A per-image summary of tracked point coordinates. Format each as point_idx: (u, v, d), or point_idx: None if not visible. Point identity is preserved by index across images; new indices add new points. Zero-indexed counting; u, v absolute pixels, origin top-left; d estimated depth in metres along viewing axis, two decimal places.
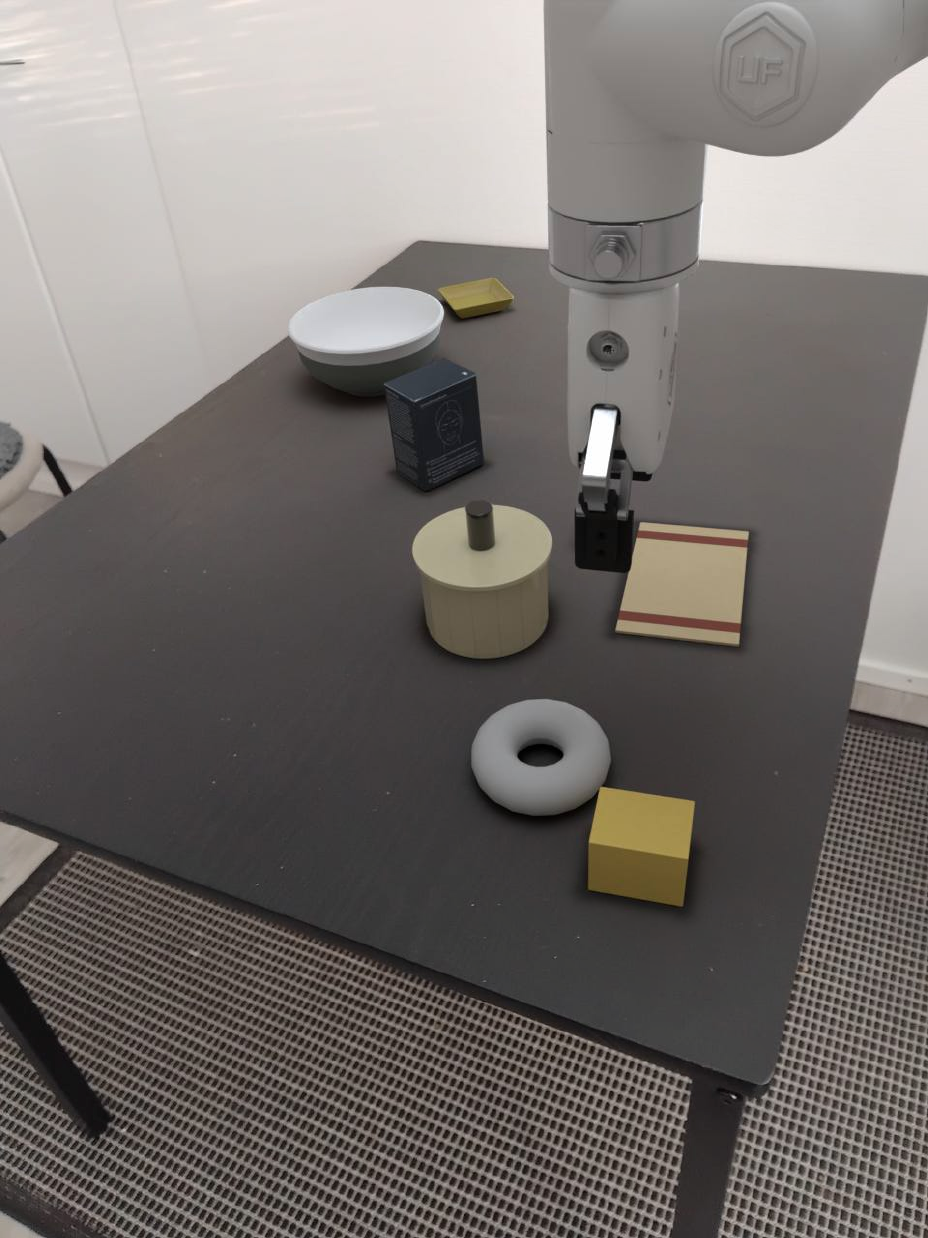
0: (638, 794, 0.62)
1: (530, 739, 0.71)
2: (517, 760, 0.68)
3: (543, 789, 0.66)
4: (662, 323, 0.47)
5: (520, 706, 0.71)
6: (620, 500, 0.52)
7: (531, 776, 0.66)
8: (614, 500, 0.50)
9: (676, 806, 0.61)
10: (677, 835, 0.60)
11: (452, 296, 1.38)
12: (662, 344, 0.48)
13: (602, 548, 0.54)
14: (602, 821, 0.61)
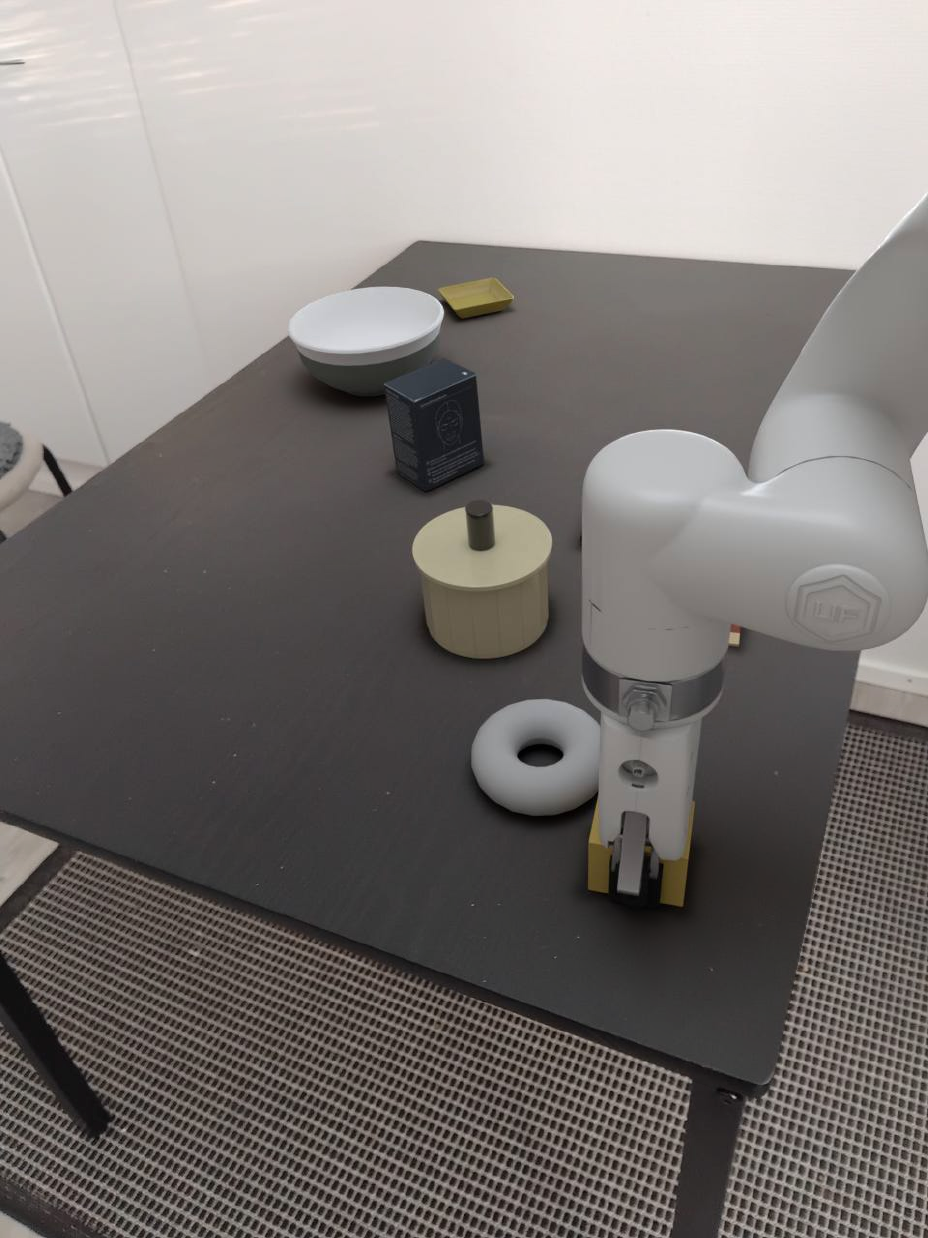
0: None
1: (530, 739, 0.71)
2: (517, 760, 0.68)
3: (543, 789, 0.66)
4: (690, 752, 0.50)
5: (520, 707, 0.71)
6: (651, 869, 0.57)
7: (531, 776, 0.66)
8: (647, 875, 0.56)
9: None
10: None
11: (452, 296, 1.38)
12: (689, 768, 0.51)
13: None
14: None
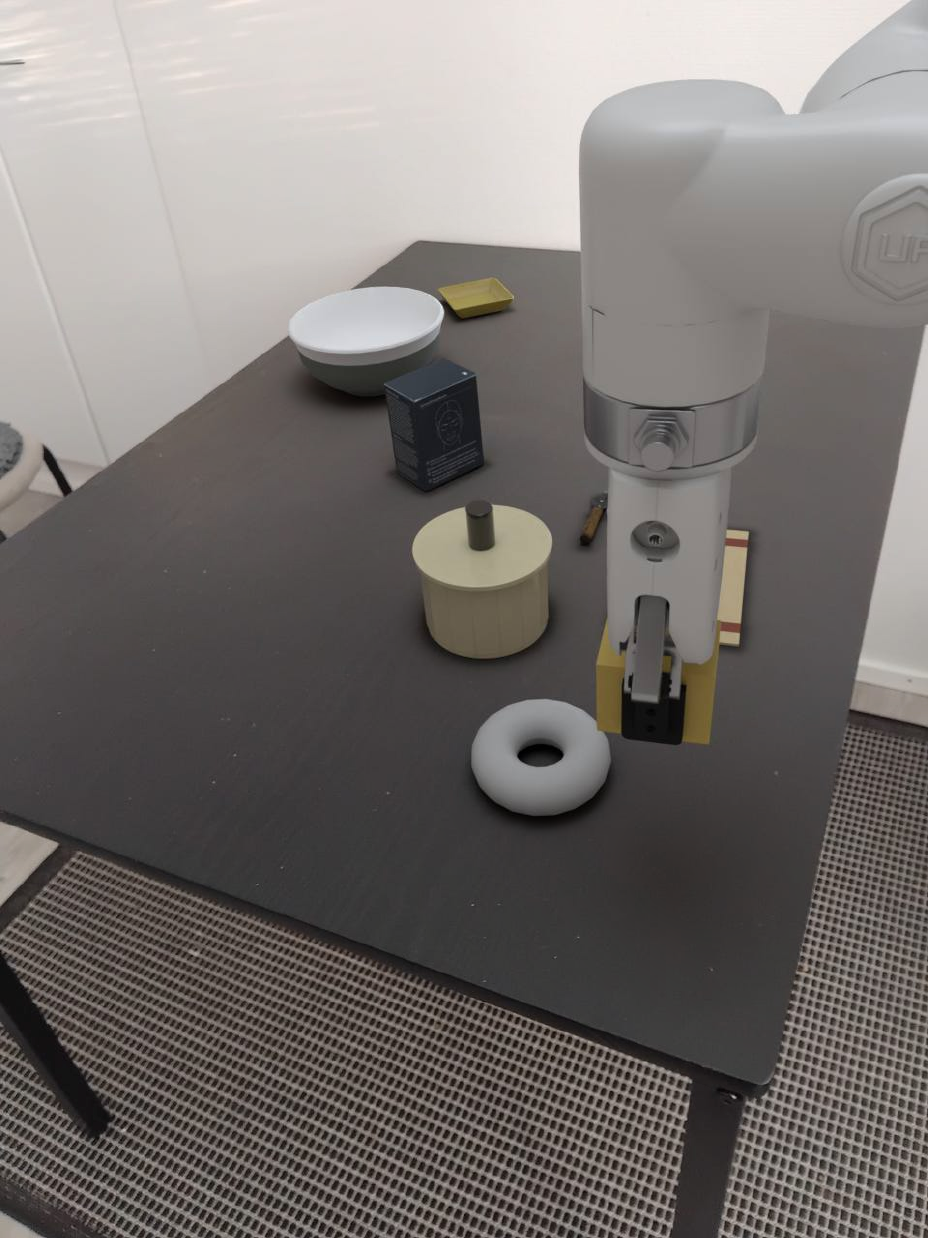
0: None
1: (530, 739, 0.71)
2: (517, 760, 0.68)
3: (543, 789, 0.66)
4: (718, 510, 0.41)
5: (520, 707, 0.71)
6: (672, 686, 0.48)
7: (531, 776, 0.66)
8: (667, 686, 0.46)
9: None
10: None
11: (452, 296, 1.38)
12: (718, 533, 0.42)
13: (652, 724, 0.50)
14: None
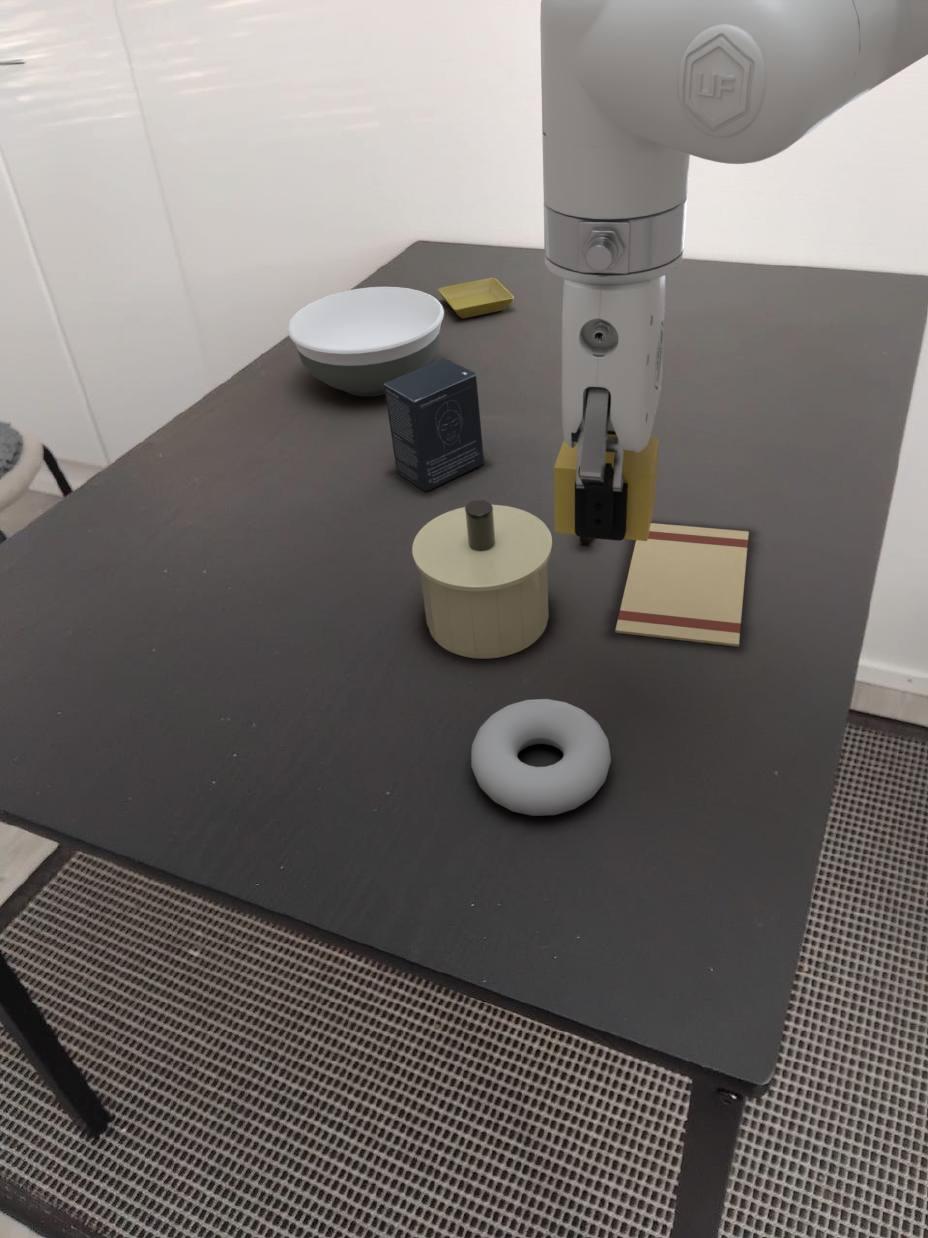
0: None
1: (530, 739, 0.71)
2: (517, 760, 0.68)
3: (543, 789, 0.66)
4: (649, 312, 0.51)
5: (520, 707, 0.71)
6: (615, 478, 0.58)
7: (531, 776, 0.66)
8: (610, 473, 0.57)
9: None
10: (641, 459, 0.61)
11: (452, 296, 1.38)
12: (649, 332, 0.52)
13: (599, 517, 0.61)
14: (568, 453, 0.62)
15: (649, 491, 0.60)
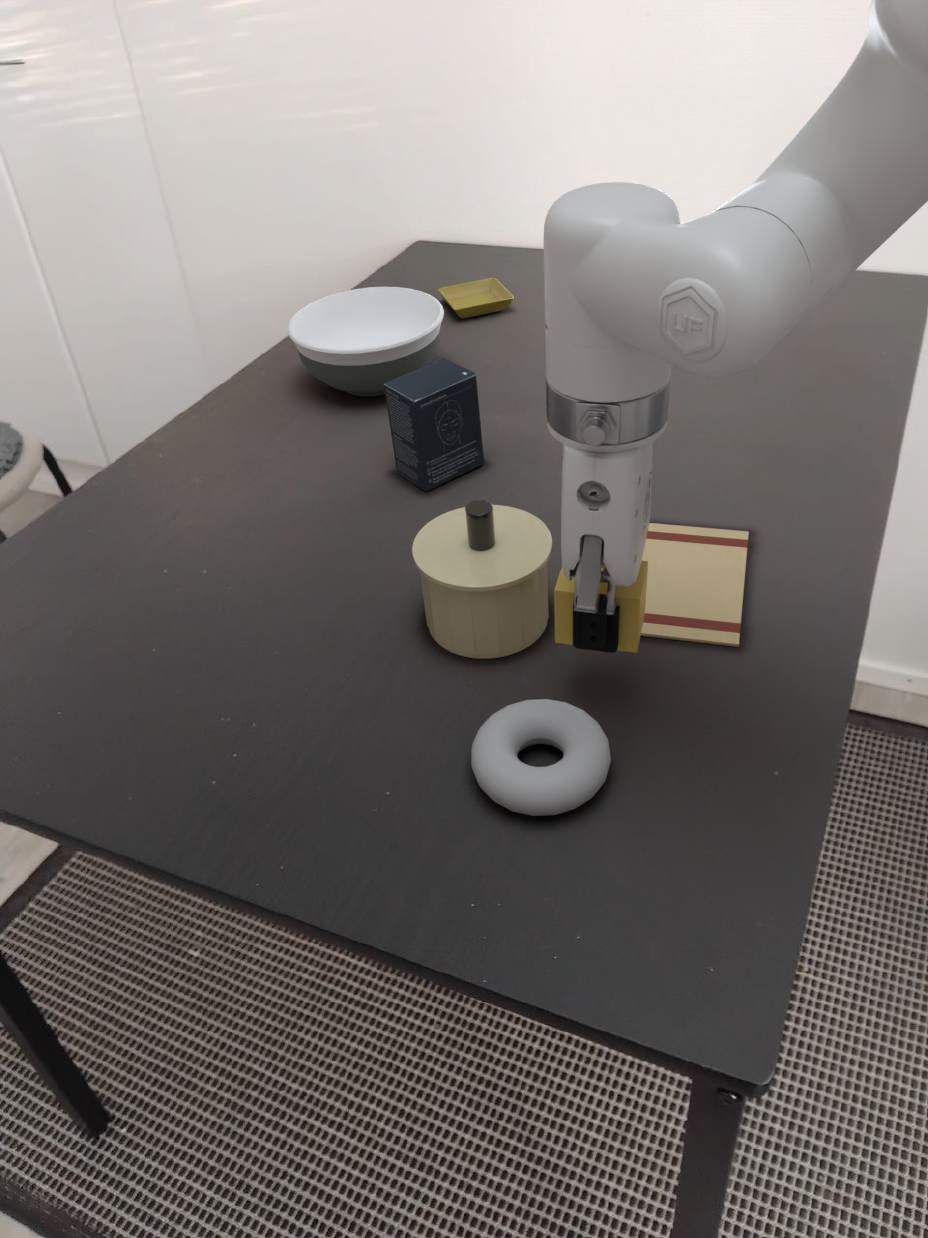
0: None
1: (530, 739, 0.71)
2: (517, 760, 0.68)
3: (543, 789, 0.66)
4: (637, 475, 0.59)
5: (520, 707, 0.71)
6: (608, 604, 0.66)
7: (531, 776, 0.66)
8: (604, 603, 0.64)
9: None
10: None
11: (452, 296, 1.38)
12: (637, 491, 0.60)
13: (595, 634, 0.69)
14: None
15: (638, 612, 0.68)
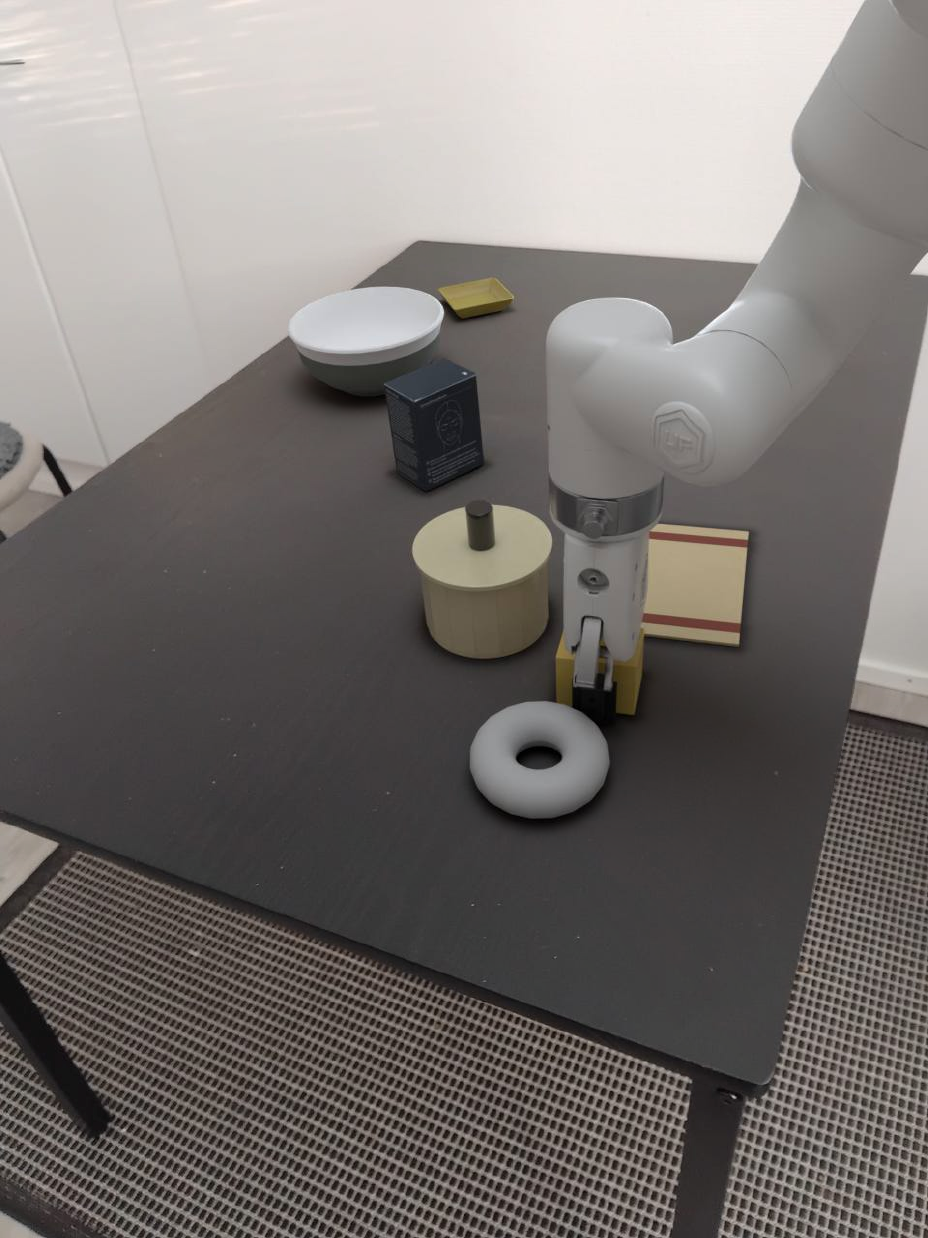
0: None
1: (528, 741, 0.71)
2: (515, 762, 0.68)
3: (540, 792, 0.65)
4: (634, 562, 0.63)
5: (519, 709, 0.71)
6: (606, 680, 0.69)
7: (529, 779, 0.66)
8: (601, 682, 0.68)
9: None
10: None
11: (452, 296, 1.38)
12: (634, 576, 0.64)
13: (593, 708, 0.72)
14: None
15: (635, 679, 0.72)
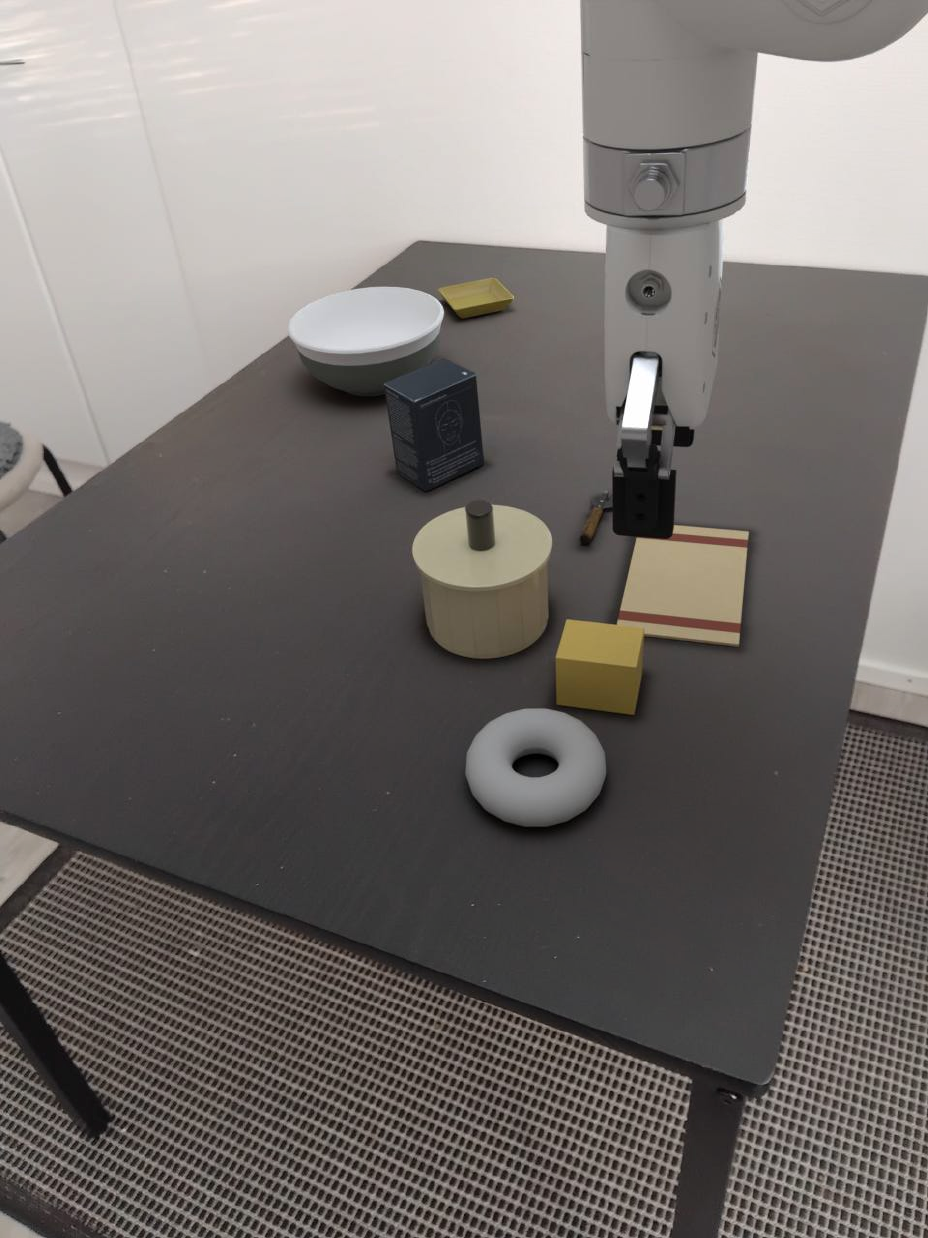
0: (597, 623, 0.75)
1: (525, 748, 0.70)
2: (511, 770, 0.67)
3: (534, 800, 0.65)
4: (708, 261, 0.44)
5: (517, 715, 0.71)
6: (662, 458, 0.48)
7: (523, 787, 0.66)
8: (655, 456, 0.47)
9: (628, 631, 0.74)
10: (628, 651, 0.72)
11: (452, 296, 1.38)
12: (707, 284, 0.44)
13: (642, 511, 0.51)
14: (567, 643, 0.74)
15: (635, 679, 0.72)
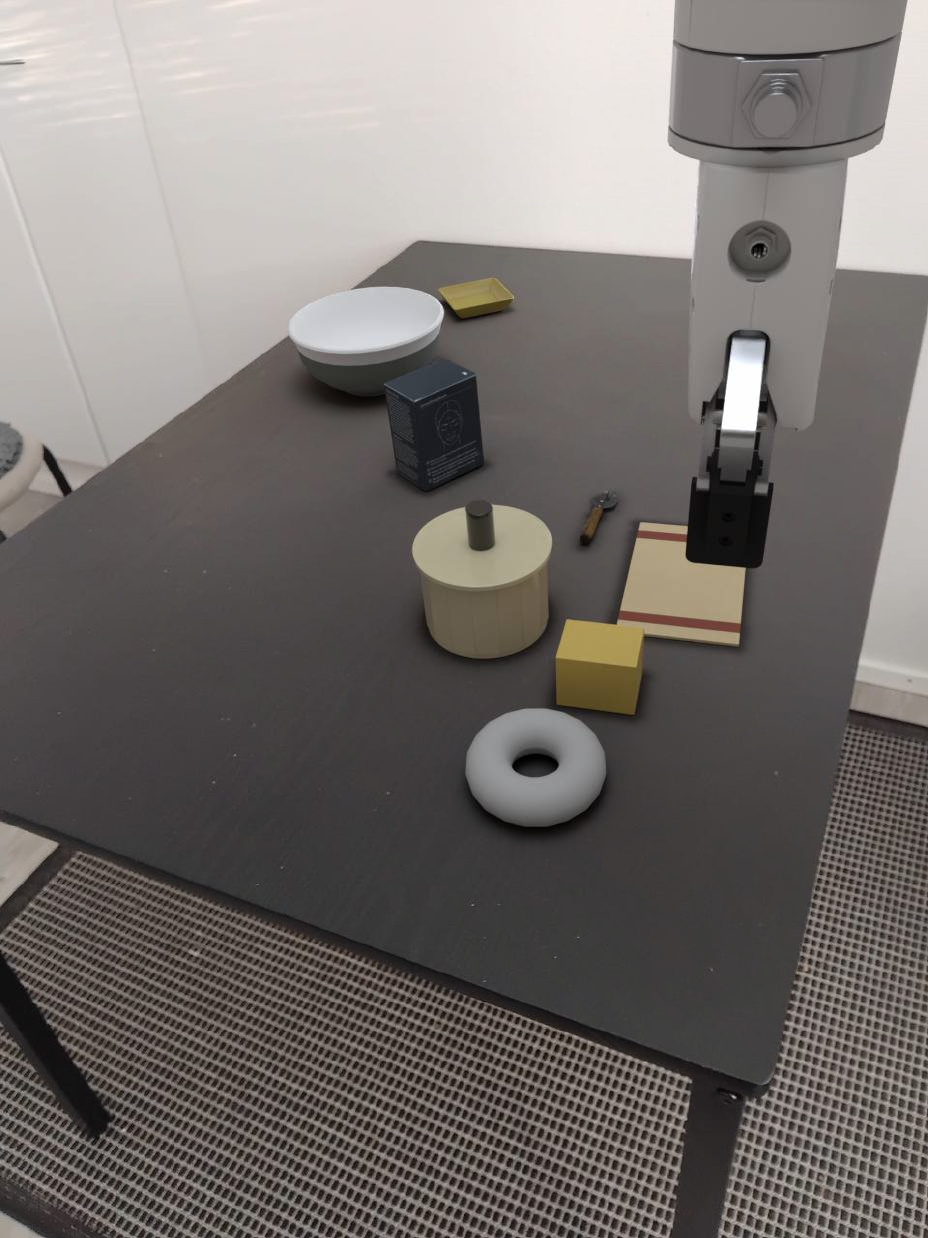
0: (597, 623, 0.75)
1: (525, 748, 0.70)
2: (511, 770, 0.67)
3: (534, 800, 0.65)
4: (840, 210, 0.33)
5: (517, 715, 0.71)
6: (760, 468, 0.38)
7: (523, 787, 0.66)
8: (758, 466, 0.36)
9: (628, 631, 0.74)
10: (628, 651, 0.72)
11: (452, 296, 1.38)
12: (836, 242, 0.34)
13: (728, 534, 0.40)
14: (567, 643, 0.74)
15: (635, 679, 0.72)
